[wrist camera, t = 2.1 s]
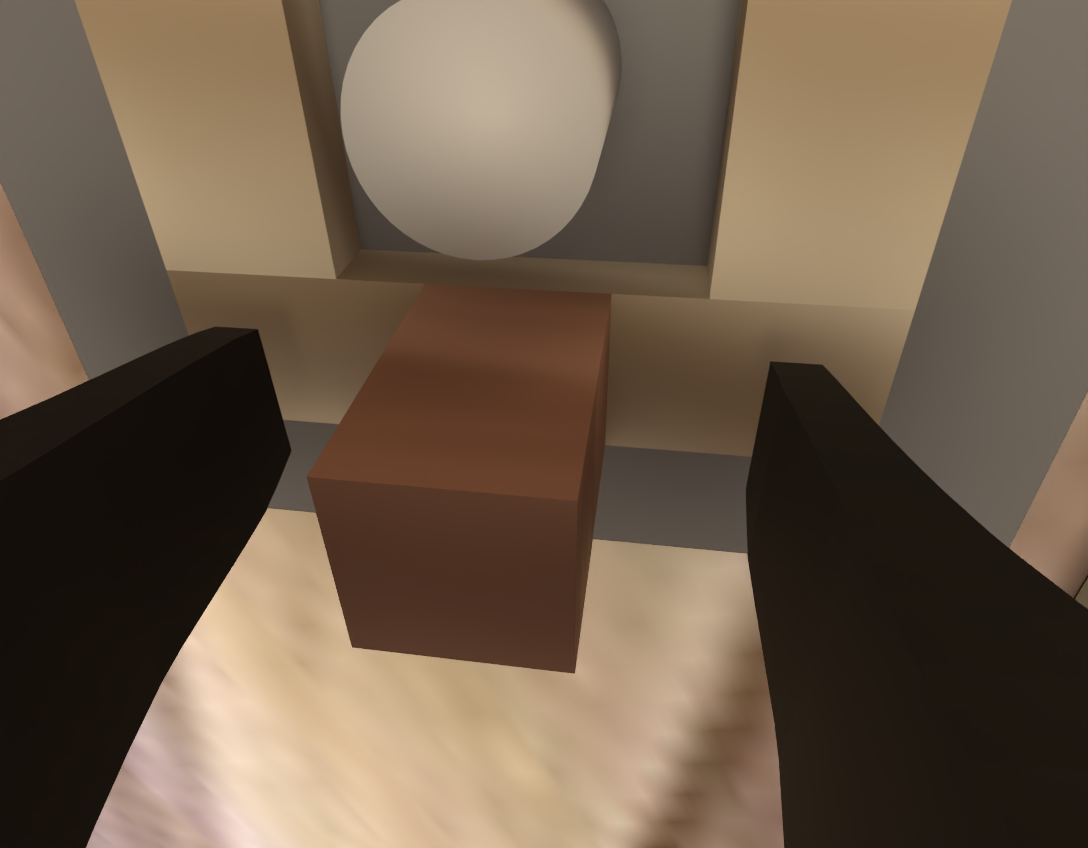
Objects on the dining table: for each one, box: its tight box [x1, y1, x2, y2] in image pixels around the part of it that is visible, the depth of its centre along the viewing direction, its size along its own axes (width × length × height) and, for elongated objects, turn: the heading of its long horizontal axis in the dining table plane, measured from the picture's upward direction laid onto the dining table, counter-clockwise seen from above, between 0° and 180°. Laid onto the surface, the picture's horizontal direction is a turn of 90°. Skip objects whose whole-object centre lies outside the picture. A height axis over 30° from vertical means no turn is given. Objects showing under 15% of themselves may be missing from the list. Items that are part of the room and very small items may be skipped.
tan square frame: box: [75, 0, 1012, 673], centre depth 7 cm, size 10×10×5 cm
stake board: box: [0, 0, 1088, 554], centre depth 8 cm, size 16×16×4 cm
